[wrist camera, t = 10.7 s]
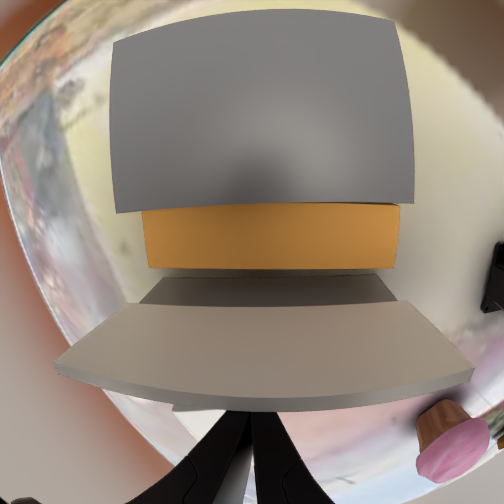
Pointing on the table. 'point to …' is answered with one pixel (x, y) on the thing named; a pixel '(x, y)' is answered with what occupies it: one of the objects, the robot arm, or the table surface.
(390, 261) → the orange bar
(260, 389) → the panel
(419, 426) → the cupcake
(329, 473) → the table surface
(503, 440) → the decorative turtle
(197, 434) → the external hard drive
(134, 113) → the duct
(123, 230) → the table surface
